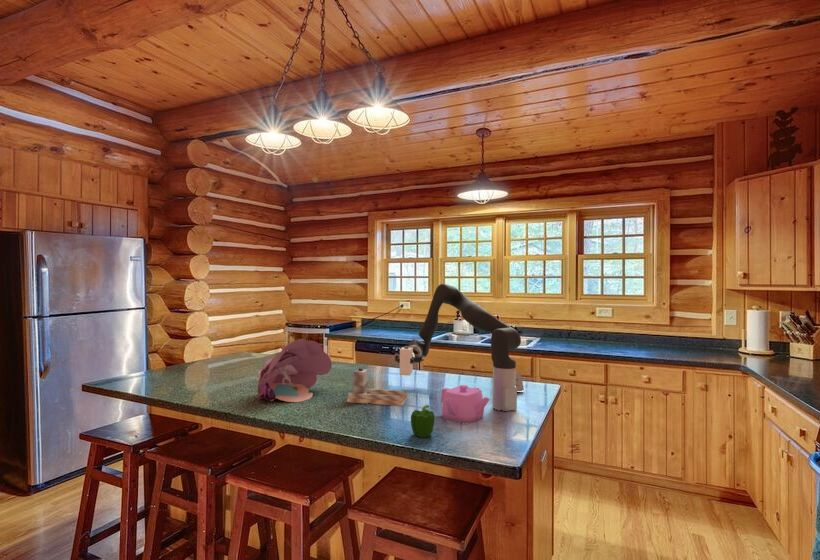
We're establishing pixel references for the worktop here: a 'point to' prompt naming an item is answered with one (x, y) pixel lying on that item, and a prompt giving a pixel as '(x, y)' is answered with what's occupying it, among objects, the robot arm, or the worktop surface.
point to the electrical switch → (519, 382)
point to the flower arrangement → (293, 371)
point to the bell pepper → (422, 422)
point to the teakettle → (463, 404)
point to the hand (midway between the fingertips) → (405, 361)
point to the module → (406, 360)
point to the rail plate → (373, 392)
